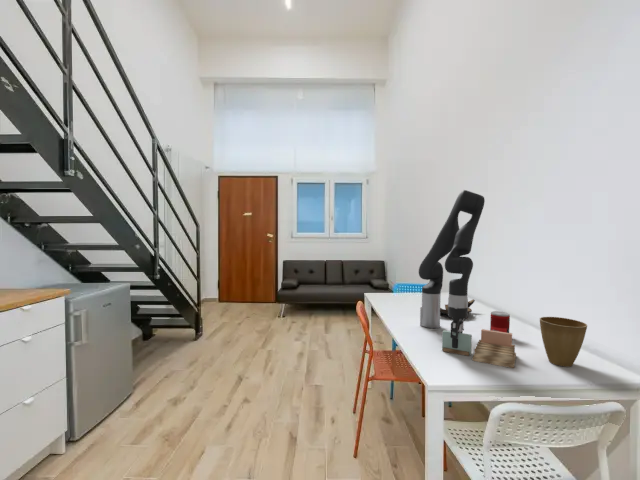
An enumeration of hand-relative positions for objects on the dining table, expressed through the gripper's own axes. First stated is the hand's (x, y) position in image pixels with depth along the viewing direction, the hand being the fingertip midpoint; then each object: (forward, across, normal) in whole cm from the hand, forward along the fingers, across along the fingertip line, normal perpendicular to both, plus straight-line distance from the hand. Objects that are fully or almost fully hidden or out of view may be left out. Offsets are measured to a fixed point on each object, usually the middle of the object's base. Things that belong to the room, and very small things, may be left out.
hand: (456, 344), depth 147 cm
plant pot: (+3, -9, +36) cm, 37 cm away
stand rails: (+3, 0, 0) cm, 3 cm away
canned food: (+3, -34, +13) cm, 37 cm away
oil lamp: (+3, -67, -13) cm, 68 cm away
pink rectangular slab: (+2, -6, +14) cm, 15 cm away
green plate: (+3, 0, 0) cm, 3 cm away
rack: (+3, -1, +14) cm, 14 cm away
